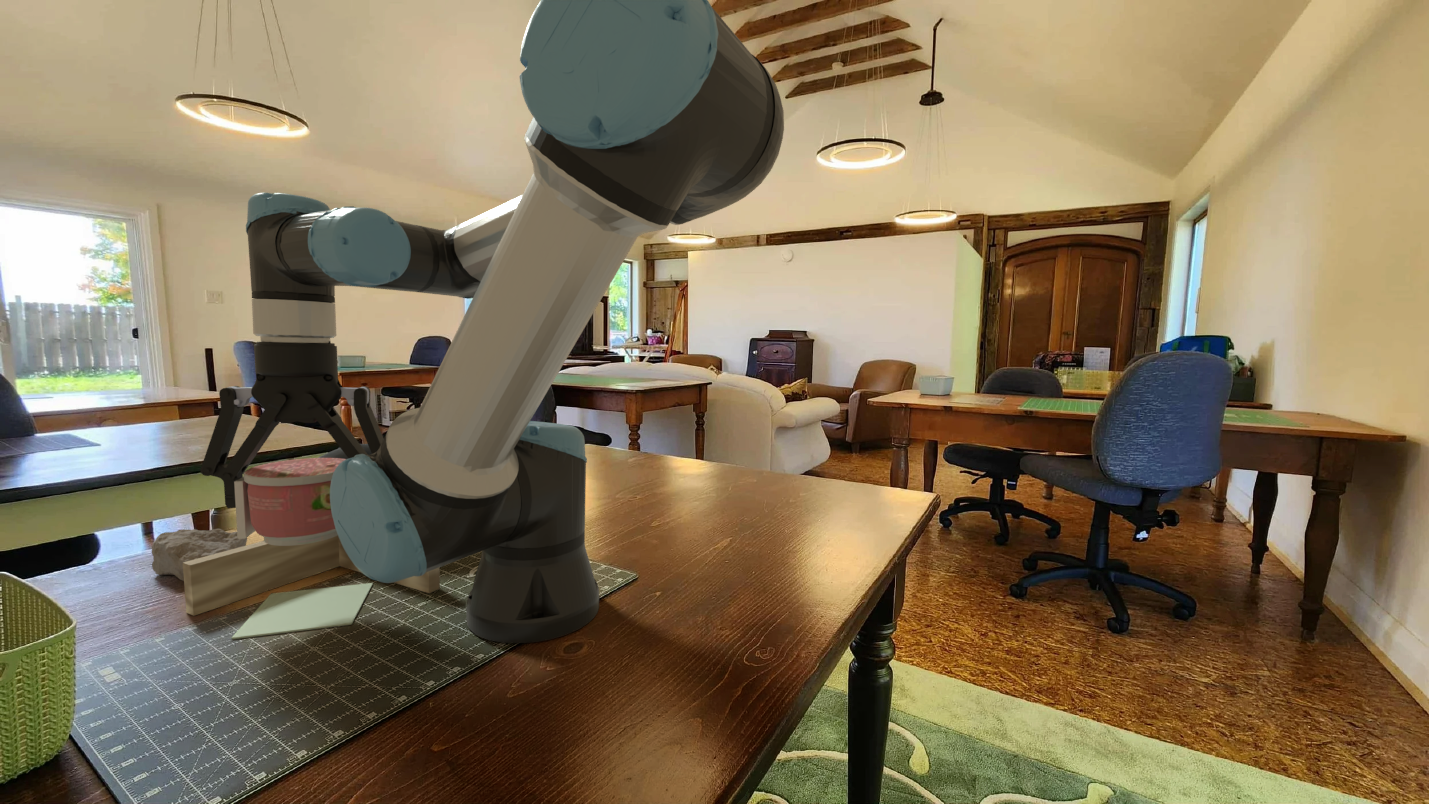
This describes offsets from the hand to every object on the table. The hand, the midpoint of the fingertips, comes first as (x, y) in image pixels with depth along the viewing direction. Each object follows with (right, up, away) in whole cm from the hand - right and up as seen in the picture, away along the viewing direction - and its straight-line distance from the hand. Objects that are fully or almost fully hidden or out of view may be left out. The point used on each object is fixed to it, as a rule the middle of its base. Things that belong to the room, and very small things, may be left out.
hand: (305, 530), depth 66 cm
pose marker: (0, -9, +1) cm, 10 cm away
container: (0, -1, 0) cm, 1 cm away
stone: (-21, -8, +10) cm, 25 cm away
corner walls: (0, -9, +3) cm, 10 cm away
